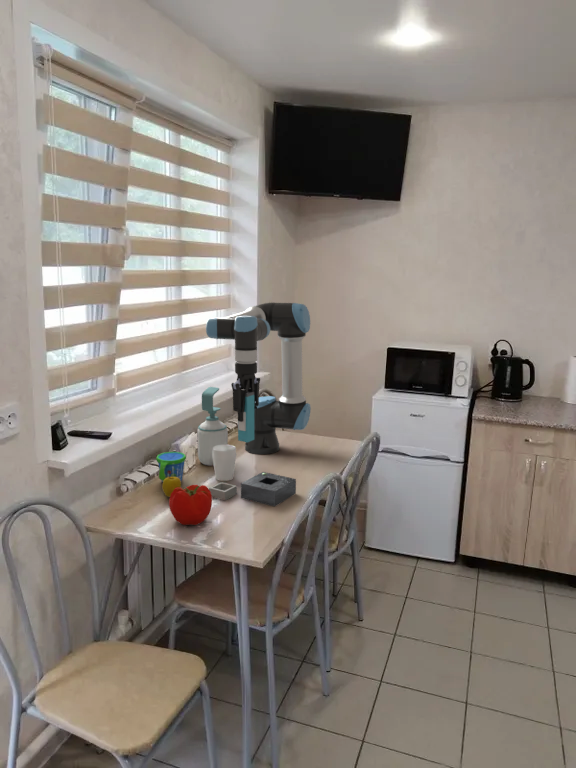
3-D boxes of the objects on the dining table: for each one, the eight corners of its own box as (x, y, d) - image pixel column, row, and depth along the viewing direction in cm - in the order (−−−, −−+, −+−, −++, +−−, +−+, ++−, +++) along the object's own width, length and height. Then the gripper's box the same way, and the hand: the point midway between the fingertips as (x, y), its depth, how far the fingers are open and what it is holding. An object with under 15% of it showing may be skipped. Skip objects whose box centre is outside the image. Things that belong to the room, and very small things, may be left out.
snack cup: (172, 491, 218) (171, 464, 216) (147, 486, 222) (146, 460, 220) (194, 477, 232) (194, 451, 230) (171, 473, 236) (170, 448, 234)
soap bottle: (233, 460, 252) (233, 387, 246) (217, 469, 241) (216, 392, 235) (209, 456, 257) (208, 384, 251) (191, 464, 246) (190, 389, 240)
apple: (159, 498, 211) (158, 476, 209) (169, 492, 217) (168, 471, 215) (175, 501, 208) (174, 479, 207) (184, 495, 214) (184, 473, 213)
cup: (232, 483, 226) (232, 452, 224) (209, 481, 228) (208, 450, 226) (239, 474, 235) (239, 445, 233) (216, 473, 237) (216, 443, 234)
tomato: (176, 533, 184) (175, 497, 181) (166, 515, 197) (164, 481, 194) (218, 526, 189) (217, 491, 187) (205, 509, 202) (205, 476, 199)
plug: (245, 437, 213) (244, 390, 210) (254, 439, 211) (254, 391, 208) (238, 440, 210) (237, 392, 206) (247, 442, 208) (247, 394, 204)
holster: (221, 489, 219) (221, 482, 219) (237, 493, 216) (236, 485, 215) (209, 496, 213) (209, 488, 213) (225, 500, 210) (225, 492, 209)
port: (263, 485, 224) (263, 470, 222) (295, 493, 217) (295, 478, 215) (240, 498, 212) (240, 482, 211) (274, 506, 205) (274, 490, 204)
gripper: (252, 357, 214) (252, 421, 219) (221, 364, 200) (222, 432, 205) (269, 359, 210) (269, 424, 215) (239, 366, 196) (239, 436, 201)
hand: (246, 428), depth 210 cm, fingers closed on plug, 4 cm apart
